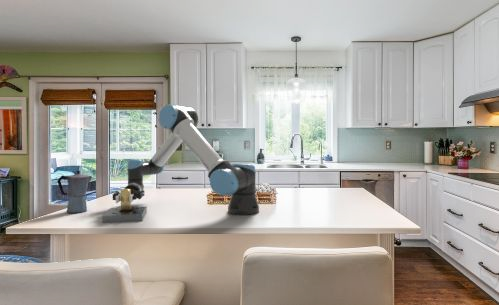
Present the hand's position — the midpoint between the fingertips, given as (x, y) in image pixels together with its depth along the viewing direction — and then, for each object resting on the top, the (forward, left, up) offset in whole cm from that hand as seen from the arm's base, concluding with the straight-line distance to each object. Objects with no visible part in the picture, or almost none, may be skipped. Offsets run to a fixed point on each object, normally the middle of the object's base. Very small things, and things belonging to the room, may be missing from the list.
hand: (123, 199), depth 138 cm
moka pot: (+26, -22, -9) cm, 35 cm away
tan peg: (0, -5, -8) cm, 10 cm away
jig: (0, -5, -9) cm, 10 cm away
